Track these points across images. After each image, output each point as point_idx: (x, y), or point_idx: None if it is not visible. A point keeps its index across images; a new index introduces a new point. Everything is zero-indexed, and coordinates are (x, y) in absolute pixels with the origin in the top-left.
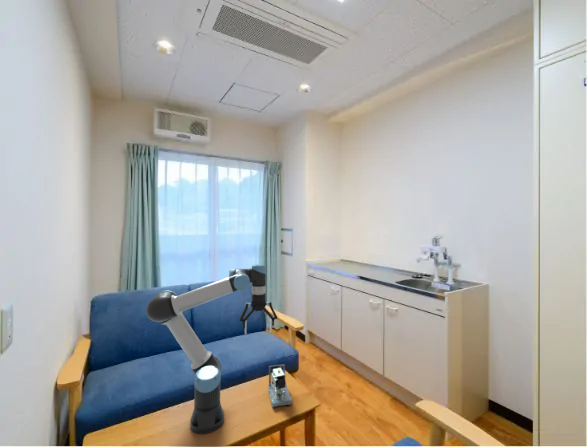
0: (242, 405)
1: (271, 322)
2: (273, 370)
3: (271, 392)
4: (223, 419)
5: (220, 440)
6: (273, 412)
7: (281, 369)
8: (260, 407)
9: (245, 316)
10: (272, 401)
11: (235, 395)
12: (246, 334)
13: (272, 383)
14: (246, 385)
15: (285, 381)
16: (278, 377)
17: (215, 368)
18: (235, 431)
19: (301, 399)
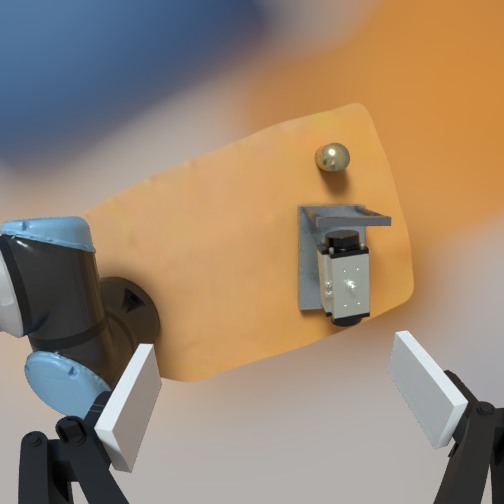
0: (205, 270)
1: (433, 433)
2: (332, 270)
3: (306, 256)
4: (157, 329)
5: (164, 376)
6: (297, 316)
7: (367, 268)
8: (262, 289)
9: (85, 491)
10: (301, 303)
11: (180, 213)
12: (161, 384)
13: (318, 166)
14: (218, 158)
15: (361, 318)
16: (341, 320)
17: (73, 382)
18: (194, 360)
19: (389, 274)
